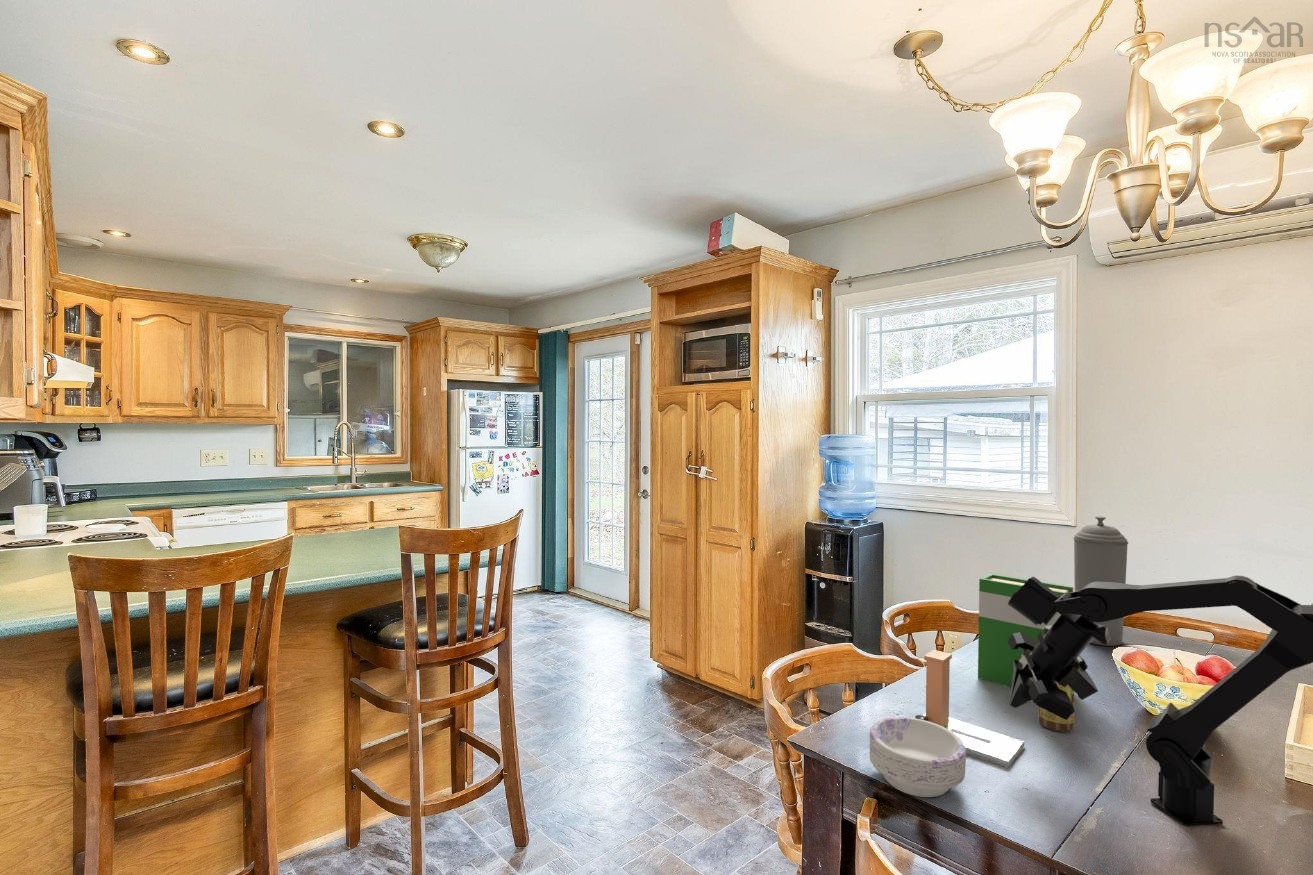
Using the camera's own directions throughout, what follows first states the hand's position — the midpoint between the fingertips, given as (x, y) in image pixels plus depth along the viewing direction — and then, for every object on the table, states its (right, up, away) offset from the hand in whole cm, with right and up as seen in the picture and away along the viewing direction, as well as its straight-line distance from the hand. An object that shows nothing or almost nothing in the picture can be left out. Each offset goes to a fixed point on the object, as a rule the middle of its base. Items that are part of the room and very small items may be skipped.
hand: (1012, 705), depth 118 cm
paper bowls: (-21, -10, -8) cm, 25 cm away
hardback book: (+21, -9, +32) cm, 39 cm away
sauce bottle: (+15, -9, +12) cm, 21 cm away
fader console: (-6, -9, +6) cm, 12 cm away
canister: (+59, -8, +63) cm, 87 cm away
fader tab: (-10, -8, +9) cm, 15 cm away
